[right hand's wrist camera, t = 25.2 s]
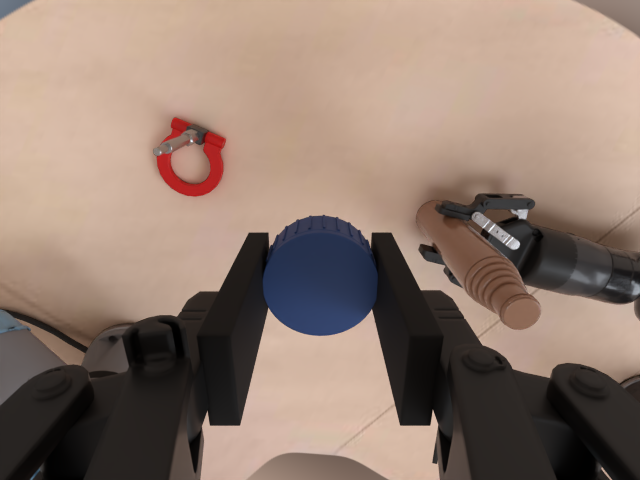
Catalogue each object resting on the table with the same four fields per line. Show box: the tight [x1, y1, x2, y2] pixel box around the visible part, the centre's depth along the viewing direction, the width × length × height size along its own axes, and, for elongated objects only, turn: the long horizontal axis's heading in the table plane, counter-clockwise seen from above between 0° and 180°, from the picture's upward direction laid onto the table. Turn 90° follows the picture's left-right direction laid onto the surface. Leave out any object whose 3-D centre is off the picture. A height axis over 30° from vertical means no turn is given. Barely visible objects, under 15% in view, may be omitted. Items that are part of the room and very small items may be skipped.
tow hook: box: [153, 118, 226, 196], centre depth 42 cm, size 8×13×9 cm
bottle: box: [416, 201, 541, 330], centre depth 40 cm, size 5×5×24 cm
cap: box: [263, 215, 378, 336], centre depth 14 cm, size 4×4×2 cm
